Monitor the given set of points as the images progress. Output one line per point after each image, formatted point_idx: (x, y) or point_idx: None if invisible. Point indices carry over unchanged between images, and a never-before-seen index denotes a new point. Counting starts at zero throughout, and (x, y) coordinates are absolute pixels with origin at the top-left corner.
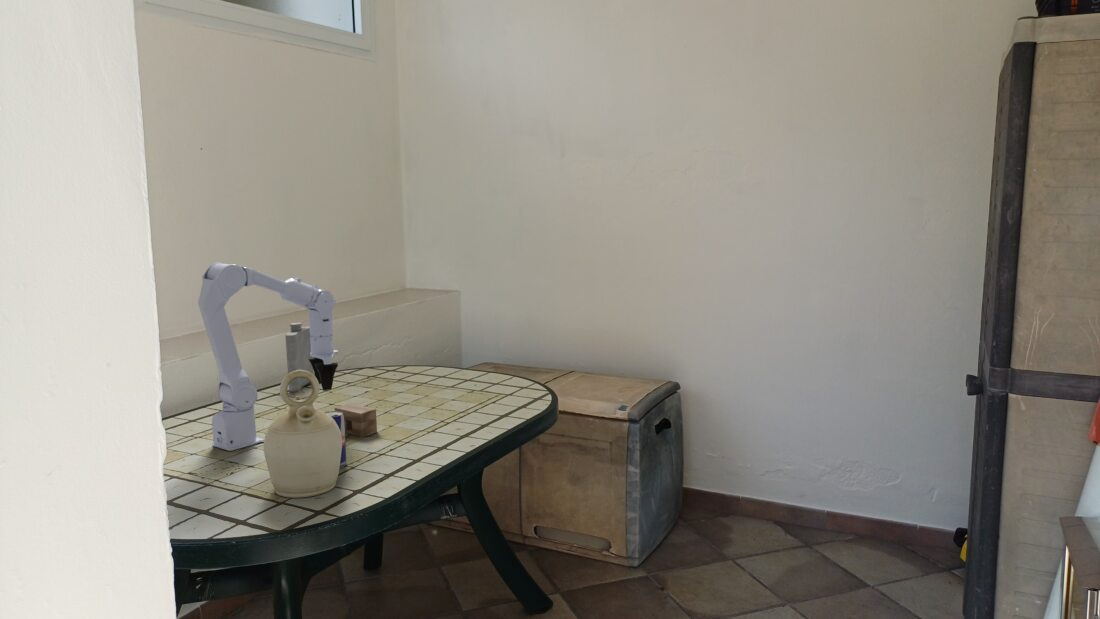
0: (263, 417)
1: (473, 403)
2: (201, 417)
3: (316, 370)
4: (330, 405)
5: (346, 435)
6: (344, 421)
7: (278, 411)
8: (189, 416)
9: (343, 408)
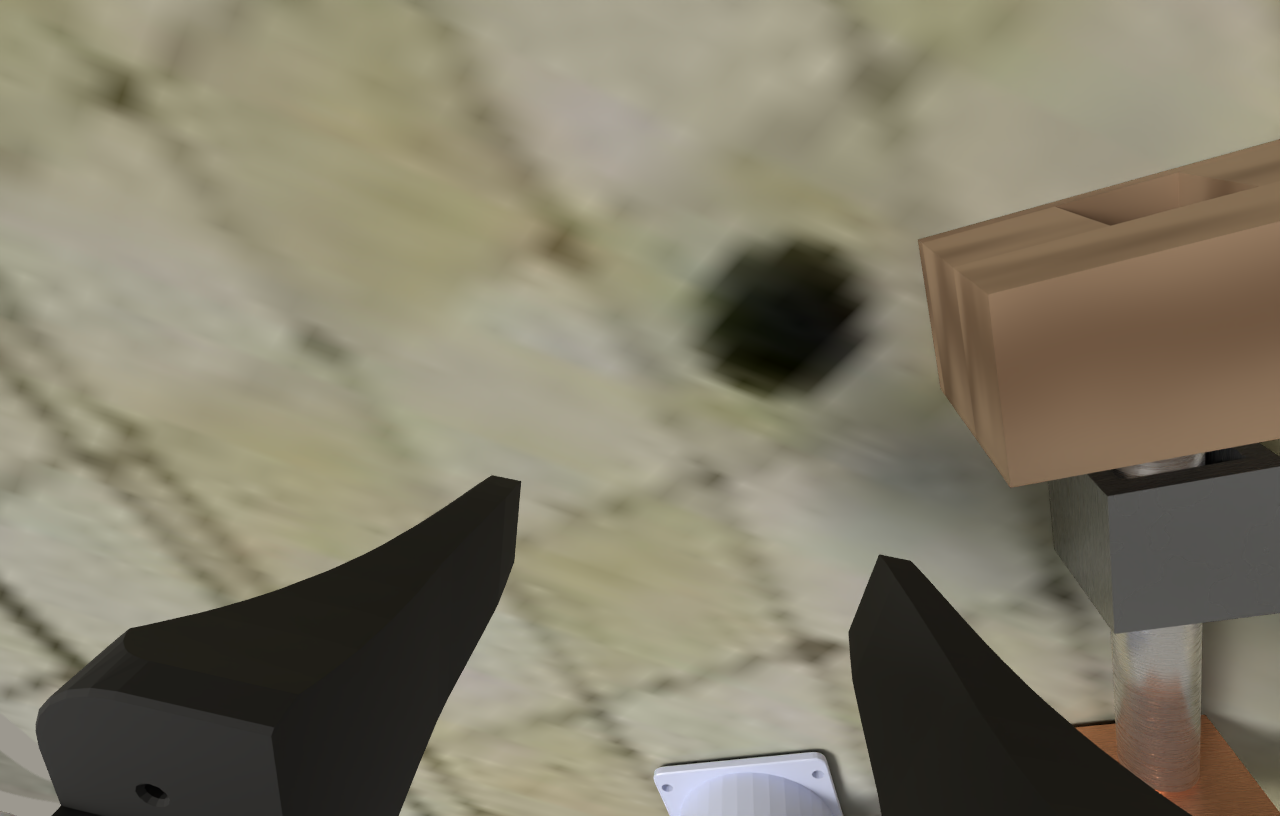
0: None
1: None
2: None
3: (430, 711)
4: (158, 119)
5: None
6: (1277, 476)
7: (200, 484)
8: None
9: (1126, 436)
